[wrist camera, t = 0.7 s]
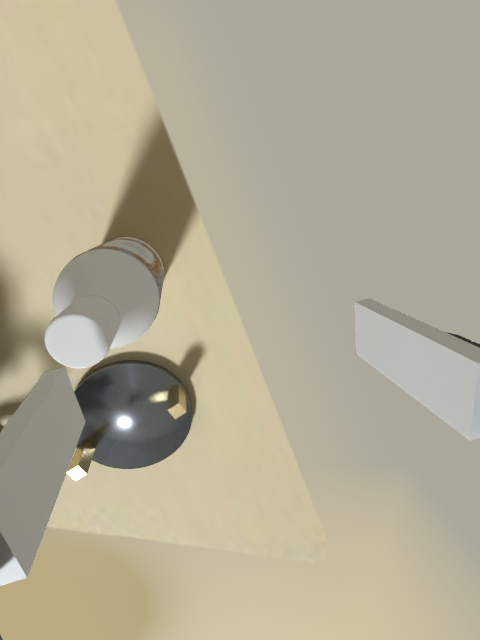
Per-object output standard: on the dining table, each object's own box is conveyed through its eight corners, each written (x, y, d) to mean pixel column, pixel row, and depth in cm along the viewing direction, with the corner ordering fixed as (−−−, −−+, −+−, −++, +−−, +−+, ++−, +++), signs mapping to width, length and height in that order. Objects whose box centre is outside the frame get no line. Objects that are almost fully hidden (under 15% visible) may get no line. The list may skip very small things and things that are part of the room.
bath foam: (174, 252, 34) (173, 302, 16) (150, 311, 36) (125, 420, 17) (107, 224, 32) (16, 243, 14) (85, 288, 34) (-23, 382, 15)
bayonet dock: (62, 457, 39) (47, 491, 35) (77, 351, 36) (61, 373, 31) (179, 465, 43) (179, 498, 38) (202, 370, 39) (206, 392, 34)
